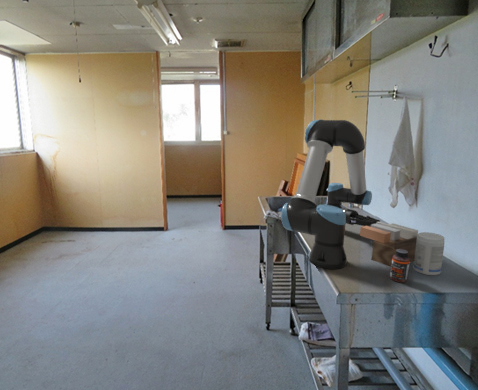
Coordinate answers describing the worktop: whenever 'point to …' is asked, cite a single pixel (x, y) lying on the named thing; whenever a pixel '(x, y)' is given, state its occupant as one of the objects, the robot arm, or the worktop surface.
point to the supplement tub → (429, 253)
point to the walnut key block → (393, 250)
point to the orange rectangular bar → (375, 234)
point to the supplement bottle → (400, 266)
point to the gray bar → (394, 232)
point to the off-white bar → (405, 231)
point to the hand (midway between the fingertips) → (389, 228)
